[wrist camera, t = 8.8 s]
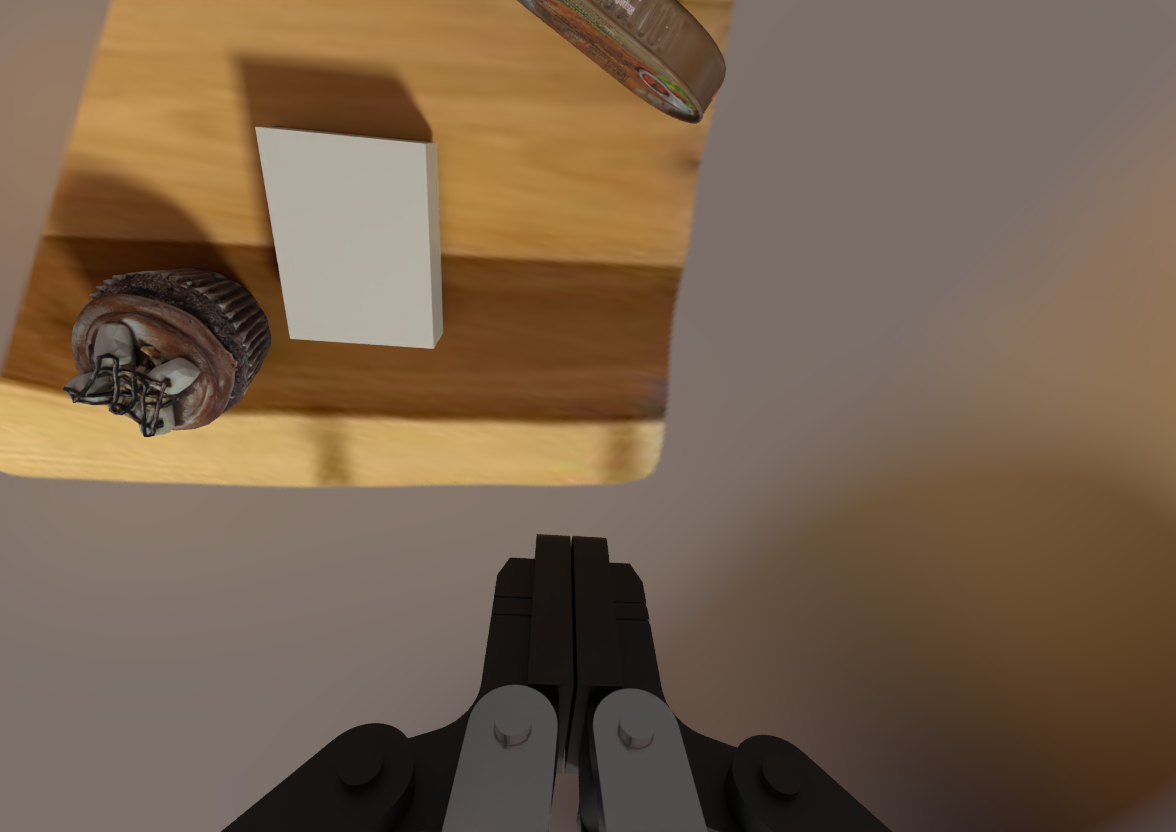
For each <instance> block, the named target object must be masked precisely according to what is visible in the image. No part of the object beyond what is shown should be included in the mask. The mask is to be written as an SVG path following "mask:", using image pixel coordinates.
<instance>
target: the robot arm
mask: <svg viewBox="0 0 1176 832" xmlns="http://www.w3.org/2000/svg"><path fill="white" fill-rule="evenodd" d="M564 750H565V773H579V805H578V811H577V818H576V829H577V832H892V831H891V830H890V829H888V828H887V827H886V826H885V825H884V824H883V823H882V822H881V821H880V820H878V819H877V818H876V817H875V816H874V815H872V813H871V812H869V811H868V810H867V809H866V808H865V807H864V806H863V805H862V804H860V803H859V802H858V801H857V800H856V799H855V798H854V797H853V796H851V795H850V794H849V793H848V792H847V791H846V790H845V789H844V788H843V787H841V786H840V785H839V784H838V783H837V782H836V781H835V780H833V778H831V777H830V776H829V775H828V774H827V773H826V772H825V771H824V770H822V769H821V768H820V767H819V766H818V765H817V764H816V763H815V762H813V761H812V760H811V759H810V758H809V757H808V756H807V755H806V754H804V753H803V752H802V751H801V750H800V749H798V748H797V747H796V746H794V745H793V744H791V743H789V742H788V741H785V740H783V739H781V738H778V737H775V736H770V735H756V736H752V737H750V738H748V739H746V740H744V741H743V742H742V743H741V744H740V745H739V746H738V748H737V747H734V746H731V745H728V744H725V743H722V742H720V741H717V740H714V739H712V738H709V737H706V736H704V735H701V734H699V733H697V732H695V731H693V730H692V729H690V728H689V727H687V726H686V725H685V724H683V723H682V722H681V721H680V720H679V719H678V718H677V717H676V716H675V715H674V713H673V712H672V711H671V709H670V708H669V706H668V704H667V703H666V700H665V698H664V695H663V692H662V688H661V682H660V676H659V671H658V665H657V660H656V654H655V649H654V643H653V637H652V632H651V627H650V624H649V615H648V610H647V607H646V599H645V593H644V588H643V583H642V581H641V579H640V578H639V576H638V575H637V574H636V572H635V571H634V569H633V568H632V566H631V565H630V564H626V563H625V564H624V563H609V554H608V546H607V539H606V538H599V537H581V536H573V537H572V541H571V542H570V536H561V535H560V536H559V535H543V534H537V538H536V550H535V559H526V558H510V559H509V560H508V561H507V563H506V564H505V565H504V567H503V568H502V569H501V571H500V572H499V573H498V575H497V581H496V587H495V594H494V601H493V608H492V616H491V622H490V628H489V635H488V642H487V648H486V655H485V662H484V669H483V676H482V682H481V687H480V691H479V693H478V696H477V698H476V700H475V701H474V703H473V705H472V706H471V707H470V708H469V710H468V711H467V712H466V713H465V714H464V715H462V716H461V718H459V719H458V720H456V721H455V722H453V723H451V724H449V725H447V726H446V727H443V728H440V729H438V730H435V731H431V732H428V733H425V734H421V735H418V736H415V737H411V738H407V737H406V736H405V735H404V733H402V732H401V731H400V730H399V729H397V728H395V727H393V726H390V725H386V724H380V723H372V724H365V725H360V726H357V727H354V728H352V729H349V730H348V731H346V732H344V733H342V734H341V735H339V736H338V737H337V738H335V739H334V740H332V741H331V742H330V743H329V744H328V745H326V746H325V747H324V748H323V749H321V750H320V751H319V752H318V753H317V754H315V755H314V756H313V757H312V758H311V759H309V760H308V761H307V762H306V763H304V764H303V765H302V766H301V767H300V768H298V769H297V770H296V771H295V772H293V773H292V774H291V775H290V776H288V777H287V778H286V779H285V780H284V781H282V782H281V783H280V784H279V785H277V786H276V787H275V788H274V789H273V790H271V791H270V792H269V793H268V794H266V795H265V796H264V797H263V798H262V799H260V800H259V801H258V802H257V803H255V804H254V805H253V806H252V807H251V808H249V809H248V810H247V811H246V812H245V813H243V814H242V815H241V816H240V817H238V818H237V819H236V820H235V821H233V822H232V823H231V824H230V825H229V826H227V827H226V828H225V829H224V830H222V831H221V832H549V822H550V814H551V807H552V799H553V792H554V785H555V777H556V773H561V771H562V764H563V757H564Z"/></svg>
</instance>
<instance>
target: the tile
mask: <svg viewBox="0 0 1176 832" xmlns="http://www.w3.org/2000/svg"><path fill="white" fill-rule="evenodd" d="M255 129H256V135H257V141H258V147H259V153H260V159H261V165H262V172H263V178H264V184H265V190H266V196H267V202H268V208H269V214H270V220H271V226H272V232H273V238H274V244H275V250H276V256H277V262H278V268H279V274H280V280H281V286H282V292H283V298H284V304H285V310H286V316H287V322H288V328H289V334H290V339H302V340H317V341H331V342H346V343H360V344H375V345H389V346H404V347H418V348H433V349H434V347H435V345H436V344H437V342H438V340H439V339H440V337H441V335H442V334H443V314H442V283H441V251H440V219H439V188H438V156H437V143H433V142H423V141H413V140H403V139H393V138H383V137H373V136H363V135H353V134H343V133H333V132H323V131H313V130H302V129H292V128H282V127H255Z"/></svg>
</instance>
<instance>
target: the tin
mask: <svg viewBox="0 0 1176 832" xmlns="http://www.w3.org/2000/svg"><path fill="white" fill-rule="evenodd" d="M518 1H519V2H520V3H521V4H522V5H523V6H525V7H526V8H527V9H528V10H530V11H531V12H532V13H533V14H535V15H536V16H537V17H538V18H540V19H541V20H542V21H543V22H545V23H546V24H547V25H548V26H550V27H551V28H552V29H554V30H555V31H556V32H557V33H559V34H560V35H561V36H562V37H564V38H565V39H566V40H568V41H569V42H570V43H571V44H572V45H574V46H575V47H576V48H577V49H579V50H580V51H581V52H582V53H584V54H585V55H586V56H587V57H589V58H590V59H591V60H592V61H594V62H595V63H596V64H597V65H599V66H600V67H601V68H602V69H604V70H605V71H606V72H607V73H609V74H610V75H611V76H613V77H614V78H615V79H616V80H618V81H619V82H620V83H621V84H623V85H624V86H625V87H626V88H628V89H629V90H630V91H632V92H633V93H634V94H636V95H637V96H639V97H640V98H641V99H643V100H644V101H646V102H647V103H649V104H650V105H652V106H654V107H655V108H657V109H658V110H660V111H662V112H664V113H665V114H667V115H670V116H672V117H674V118H676V119H678V120H681V121H684V122H688V123H693V124H696V123H699V122H700V121H701V120H702V118H703V113H704V112H705V110H706V109H707V107H708V105H709V104H710V102H711V101H712V99H713V98H714V96H715V95H716V93H717V92H718V90H719V89H720V87H721V85H722V83H723V81H724V78H725V72H726V66H725V62H724V59H723V56H722V54H721V52H720V50H719V48H718V46H717V45H716V43H715V42H714V40H713V39H712V37H711V36H710V35H709V33H708V32H707V31H706V30H705V29H704V27H703V26H702V25H701V24H700V23H699V22H698V21H697V20H696V19H695V18H694V16H693V15H692V14H691V13H690V12H689V11H688V10H686V9H685V8H684V7H683V6H682V5H681V4H680V3H679V2H678V1H677V0H518Z"/></svg>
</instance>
